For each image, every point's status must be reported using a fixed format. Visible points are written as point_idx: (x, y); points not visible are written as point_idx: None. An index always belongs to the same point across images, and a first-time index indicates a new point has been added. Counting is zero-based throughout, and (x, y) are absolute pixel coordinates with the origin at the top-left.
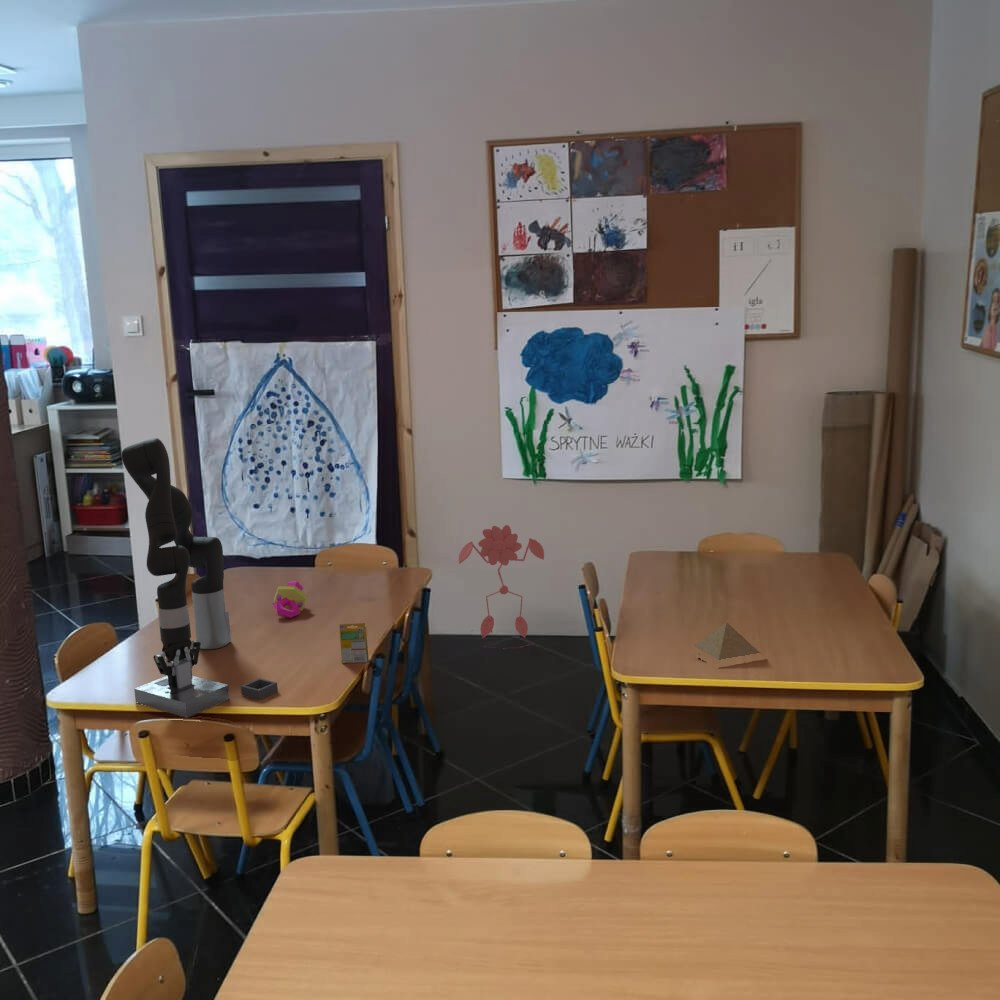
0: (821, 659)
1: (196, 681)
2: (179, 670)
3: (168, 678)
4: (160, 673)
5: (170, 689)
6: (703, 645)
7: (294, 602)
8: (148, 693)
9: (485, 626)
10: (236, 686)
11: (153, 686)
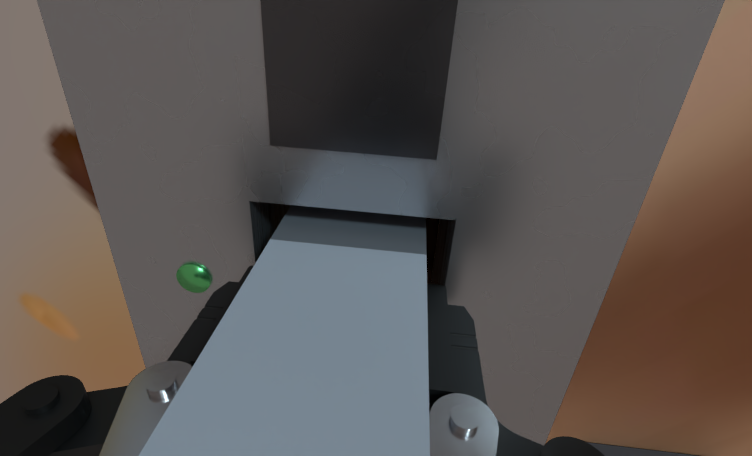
0: None
1: (504, 325)
2: None
3: (179, 352)
4: (26, 388)
5: (283, 222)
6: None
7: None
8: (81, 122)
9: None
10: (713, 356)
11: (198, 29)
